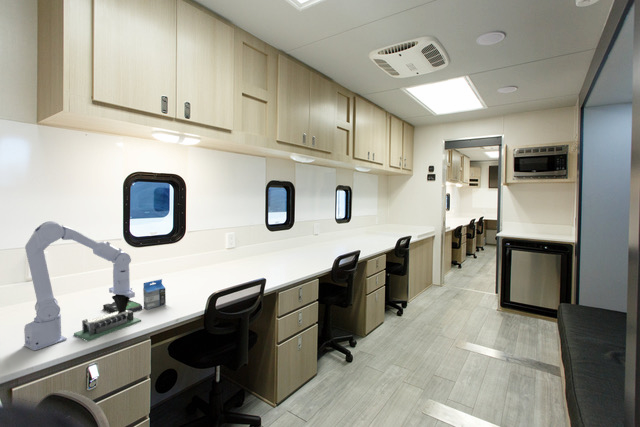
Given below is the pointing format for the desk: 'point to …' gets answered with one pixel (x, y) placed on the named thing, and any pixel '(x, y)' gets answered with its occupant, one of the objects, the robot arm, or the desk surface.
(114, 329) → the board
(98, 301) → the desk surface
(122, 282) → the robot arm
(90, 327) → the heat sink
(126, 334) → the desk surface
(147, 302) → the label tape box
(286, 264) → the desk surface
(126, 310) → the strap
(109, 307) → the disk drive
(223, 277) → the desk surface
